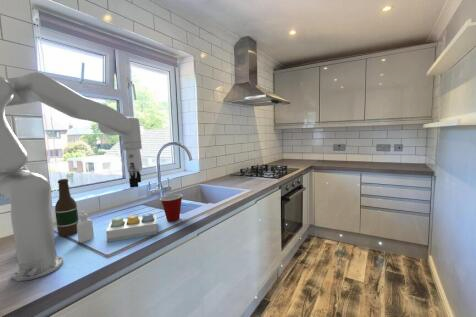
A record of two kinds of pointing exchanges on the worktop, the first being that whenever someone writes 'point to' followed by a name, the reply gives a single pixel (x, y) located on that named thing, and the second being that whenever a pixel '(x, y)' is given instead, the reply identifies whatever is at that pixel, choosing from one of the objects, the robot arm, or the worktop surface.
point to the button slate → (147, 217)
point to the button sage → (117, 222)
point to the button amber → (133, 220)
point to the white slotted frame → (131, 230)
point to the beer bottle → (66, 211)
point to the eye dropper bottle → (85, 228)
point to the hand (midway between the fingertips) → (135, 184)
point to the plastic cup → (172, 206)
